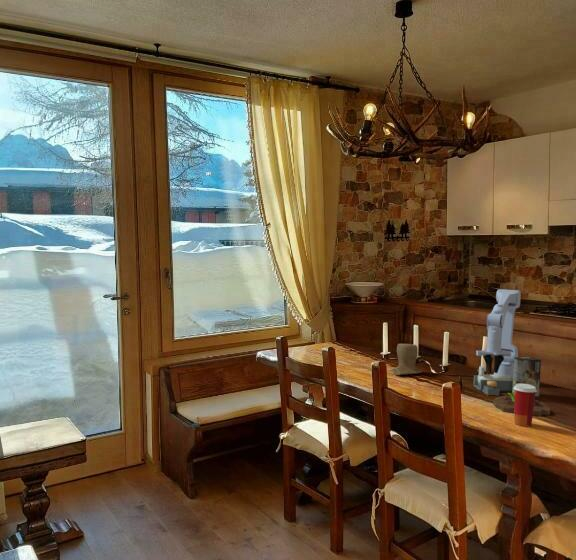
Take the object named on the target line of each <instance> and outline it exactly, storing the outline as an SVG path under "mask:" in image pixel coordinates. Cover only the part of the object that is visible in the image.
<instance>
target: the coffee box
mask: <svg viewBox="0 0 576 560" xmlns="http://www.w3.org/2000/svg"><path fill="white" fill-rule="evenodd" d="M541 367H542V359H541V358H540V359H539V358H536V357H533V356H523V357H522V356H521V357H519V356H518V357H514V368H513V383H514V382H515V381H520V382H521V384H529V385H532V386H534V387H536V388H537V389H538V392H537V393H536V394H535V397H540V388H541V387H540V386H541ZM518 384H520V383H518ZM514 386H515V385H514V384H513V390H512V392H514ZM512 392H511V393H512Z"/></svg>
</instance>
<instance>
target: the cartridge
mask: <svg viewBox="0 0 576 560" xmlns="http://www.w3.org/2000/svg"><path fill="white" fill-rule="evenodd" d="M480 379H482V380H511V378H510V376H509V375H494V374H487V373H486V374H485V366H481V365H479V368H478V379H477V380H478V385H479V386H480Z"/></svg>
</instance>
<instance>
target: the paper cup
mask: <svg viewBox="0 0 576 560" xmlns="http://www.w3.org/2000/svg"><path fill="white" fill-rule="evenodd" d="M536 392H537V390H536V387H534V386H532V385H529V384H516V385H515V386H514V395H513V396H514V413H513V415H514V417H513V419H514V420H513V421H514V424H515V425H516V426H518V425H519V427H523V426H524V427H526V428H527V427H529V426H530V427H532V423H533V409H534V402H535V400H536V396H535V394H536Z"/></svg>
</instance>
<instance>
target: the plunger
mask: <svg viewBox="0 0 576 560" xmlns="http://www.w3.org/2000/svg"><path fill="white" fill-rule="evenodd" d="M487 385H488V386H489V388H494V387H496V386H497V382H496V381H487Z"/></svg>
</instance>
